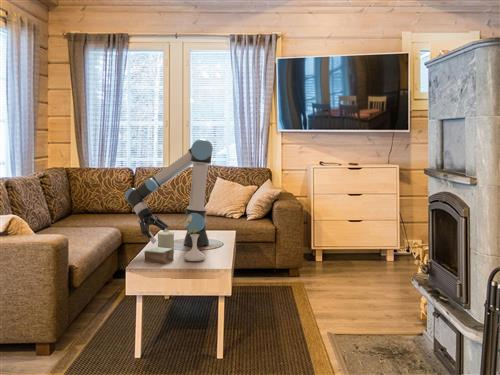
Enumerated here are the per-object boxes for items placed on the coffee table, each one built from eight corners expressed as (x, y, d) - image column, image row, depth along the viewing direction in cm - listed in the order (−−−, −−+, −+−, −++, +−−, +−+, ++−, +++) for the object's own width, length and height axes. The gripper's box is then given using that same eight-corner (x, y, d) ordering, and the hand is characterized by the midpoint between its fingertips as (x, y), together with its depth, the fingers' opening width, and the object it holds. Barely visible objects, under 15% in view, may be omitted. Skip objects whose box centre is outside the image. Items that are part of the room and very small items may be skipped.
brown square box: (155, 258, 271) (155, 246, 270) (173, 260, 267) (173, 248, 267) (144, 262, 261) (144, 250, 260) (162, 264, 257) (162, 252, 256)
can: (166, 255, 276) (166, 234, 275) (154, 253, 281) (154, 232, 280) (177, 253, 284) (177, 232, 283) (165, 250, 289) (165, 230, 287)
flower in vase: (194, 256, 274) (194, 211, 272) (209, 260, 267) (210, 214, 265) (177, 261, 264) (177, 214, 262) (192, 264, 257) (192, 216, 255)
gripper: (154, 213, 300) (173, 240, 294) (123, 218, 279) (143, 248, 273) (161, 205, 297) (180, 232, 291) (130, 209, 276) (151, 239, 270)
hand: (162, 240), depth 282 cm, fingers open, 13 cm apart
